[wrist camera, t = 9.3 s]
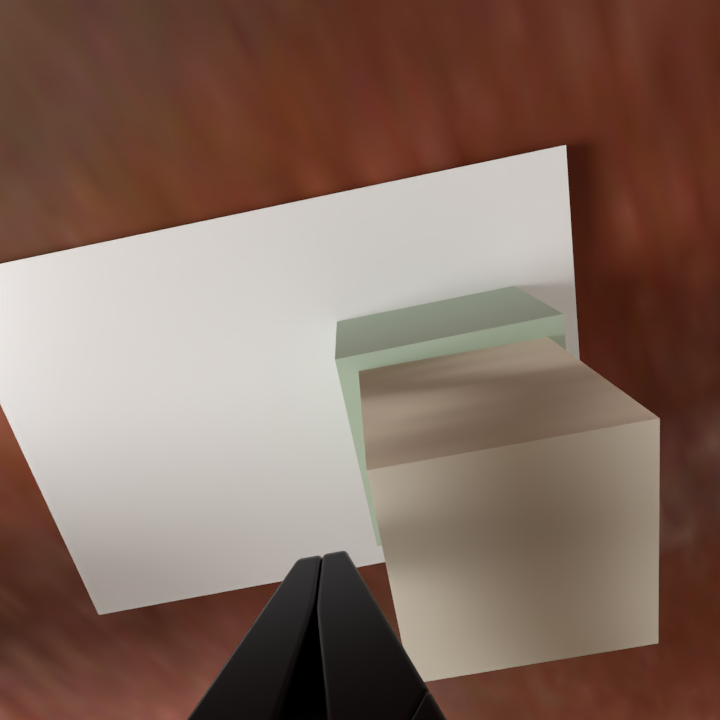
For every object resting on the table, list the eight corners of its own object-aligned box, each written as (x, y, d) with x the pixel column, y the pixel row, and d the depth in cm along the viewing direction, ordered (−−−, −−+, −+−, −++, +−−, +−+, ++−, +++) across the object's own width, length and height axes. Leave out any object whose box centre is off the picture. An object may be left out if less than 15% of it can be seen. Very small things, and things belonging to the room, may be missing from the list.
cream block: (389, 528, 15) (410, 684, 10) (358, 371, 13) (366, 470, 9) (558, 498, 15) (658, 642, 10) (547, 336, 13) (659, 418, 9)
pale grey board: (109, 596, 22) (98, 615, 21) (-37, 271, 17) (-60, 276, 16) (579, 508, 21) (590, 524, 20) (553, 147, 17) (566, 144, 16)
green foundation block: (370, 474, 19) (377, 546, 15) (336, 321, 17) (335, 359, 13) (530, 444, 19) (577, 509, 15) (514, 285, 17) (563, 313, 13)
